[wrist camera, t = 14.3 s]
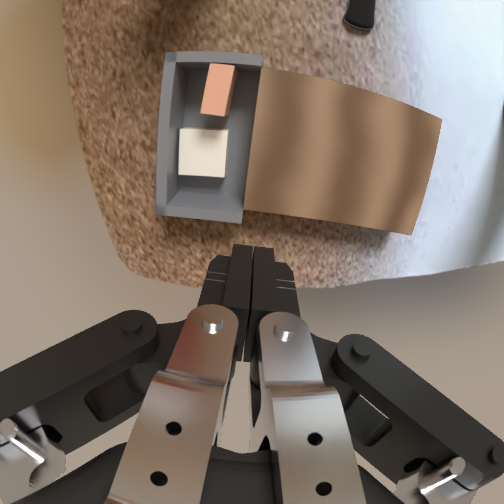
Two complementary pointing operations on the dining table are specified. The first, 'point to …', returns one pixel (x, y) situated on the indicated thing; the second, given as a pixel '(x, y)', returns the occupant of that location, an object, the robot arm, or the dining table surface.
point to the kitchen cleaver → (360, 14)
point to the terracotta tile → (219, 89)
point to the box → (188, 115)
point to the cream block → (203, 151)
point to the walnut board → (338, 153)
